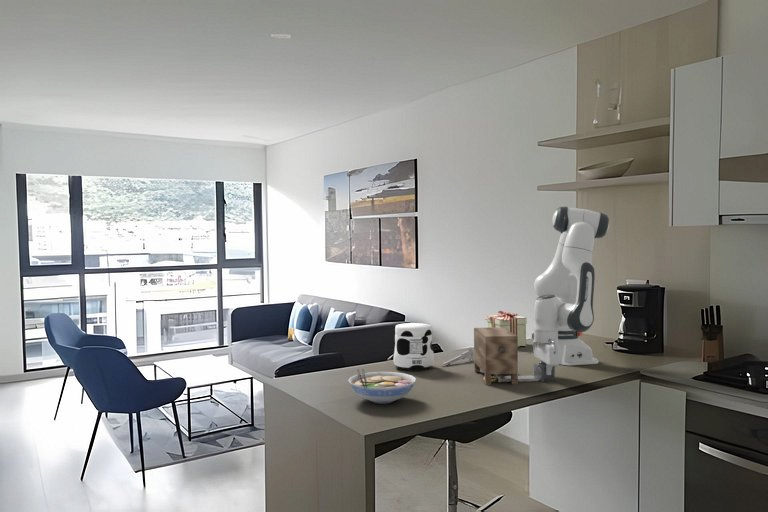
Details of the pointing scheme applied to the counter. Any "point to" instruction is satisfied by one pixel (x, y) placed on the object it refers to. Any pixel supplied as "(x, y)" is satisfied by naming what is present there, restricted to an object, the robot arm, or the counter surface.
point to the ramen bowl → (382, 386)
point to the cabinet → (496, 353)
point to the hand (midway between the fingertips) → (546, 373)
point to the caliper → (462, 356)
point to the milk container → (413, 346)
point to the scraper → (538, 375)
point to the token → (491, 379)
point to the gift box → (510, 324)
